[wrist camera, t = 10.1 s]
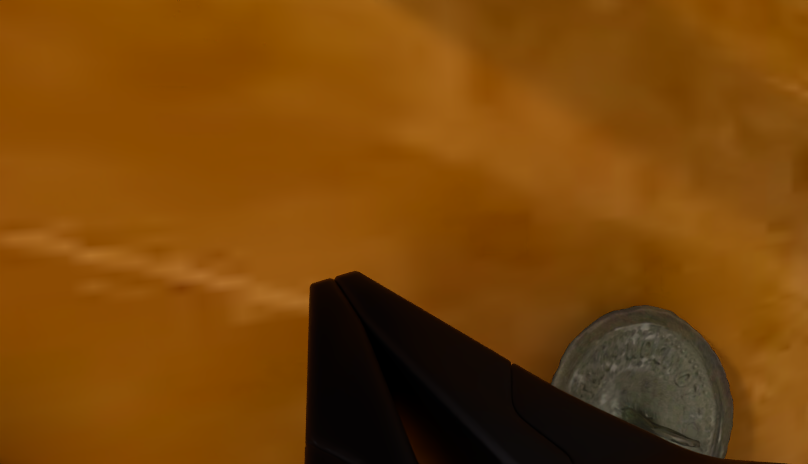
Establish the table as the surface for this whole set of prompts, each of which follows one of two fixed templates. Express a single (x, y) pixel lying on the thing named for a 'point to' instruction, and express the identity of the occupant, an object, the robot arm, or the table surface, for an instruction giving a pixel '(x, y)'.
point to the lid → (652, 377)
